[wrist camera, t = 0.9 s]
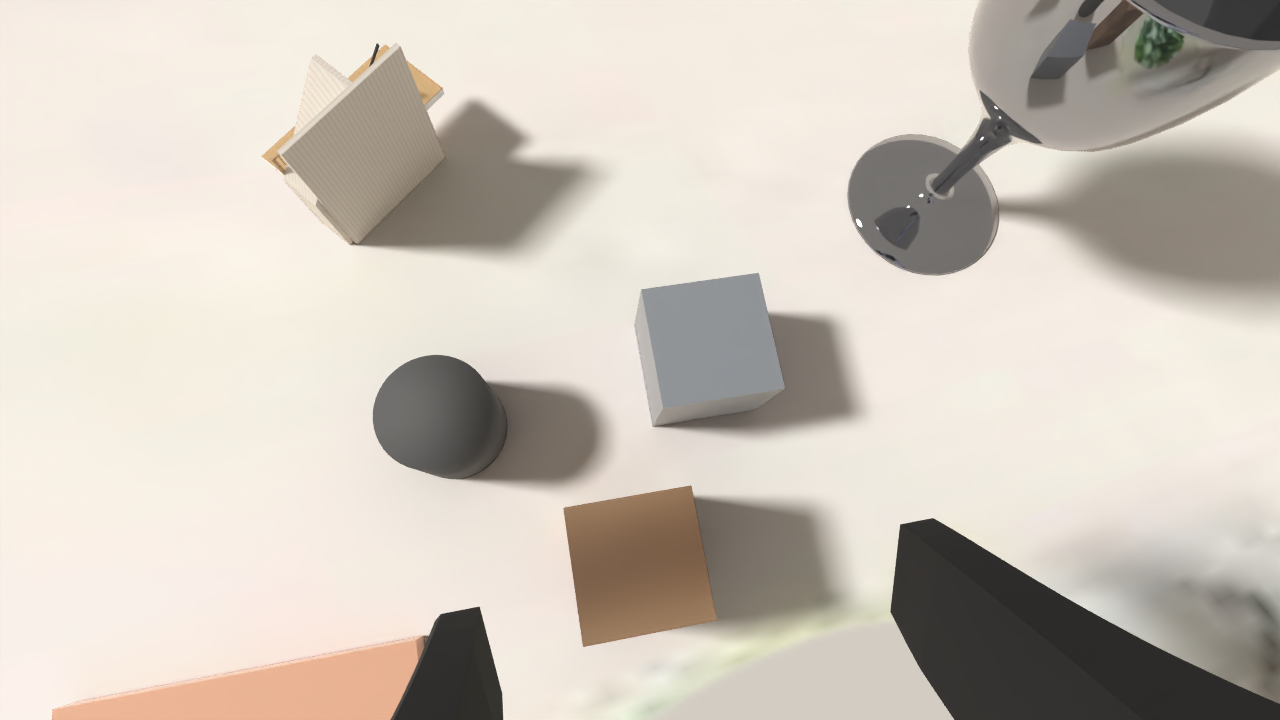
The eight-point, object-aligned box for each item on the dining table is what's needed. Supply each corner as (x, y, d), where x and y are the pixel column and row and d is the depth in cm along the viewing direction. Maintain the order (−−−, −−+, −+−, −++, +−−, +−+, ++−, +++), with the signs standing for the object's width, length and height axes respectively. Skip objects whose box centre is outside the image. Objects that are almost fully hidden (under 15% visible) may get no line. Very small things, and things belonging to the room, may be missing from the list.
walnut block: (688, 598, 25) (716, 620, 19) (586, 618, 25) (582, 646, 19) (669, 494, 26) (691, 485, 20) (570, 511, 26) (563, 508, 20)
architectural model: (299, 206, 28) (200, 99, 21) (410, 101, 30) (352, -31, 23) (357, 252, 28) (276, 159, 21) (466, 144, 30) (425, 23, 23)
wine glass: (1001, 136, 31) (1354, -202, 17) (1012, 291, 29) (1424, 61, 15) (838, 118, 31) (1055, -243, 16) (838, 274, 29) (1085, 21, 14)
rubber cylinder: (513, 469, 26) (498, 459, 22) (410, 486, 25) (377, 479, 22) (500, 373, 27) (485, 347, 23) (401, 388, 26) (368, 364, 23)
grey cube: (755, 409, 27) (785, 388, 23) (652, 426, 27) (663, 408, 22) (734, 311, 28) (758, 272, 24) (634, 325, 28) (641, 289, 24)
